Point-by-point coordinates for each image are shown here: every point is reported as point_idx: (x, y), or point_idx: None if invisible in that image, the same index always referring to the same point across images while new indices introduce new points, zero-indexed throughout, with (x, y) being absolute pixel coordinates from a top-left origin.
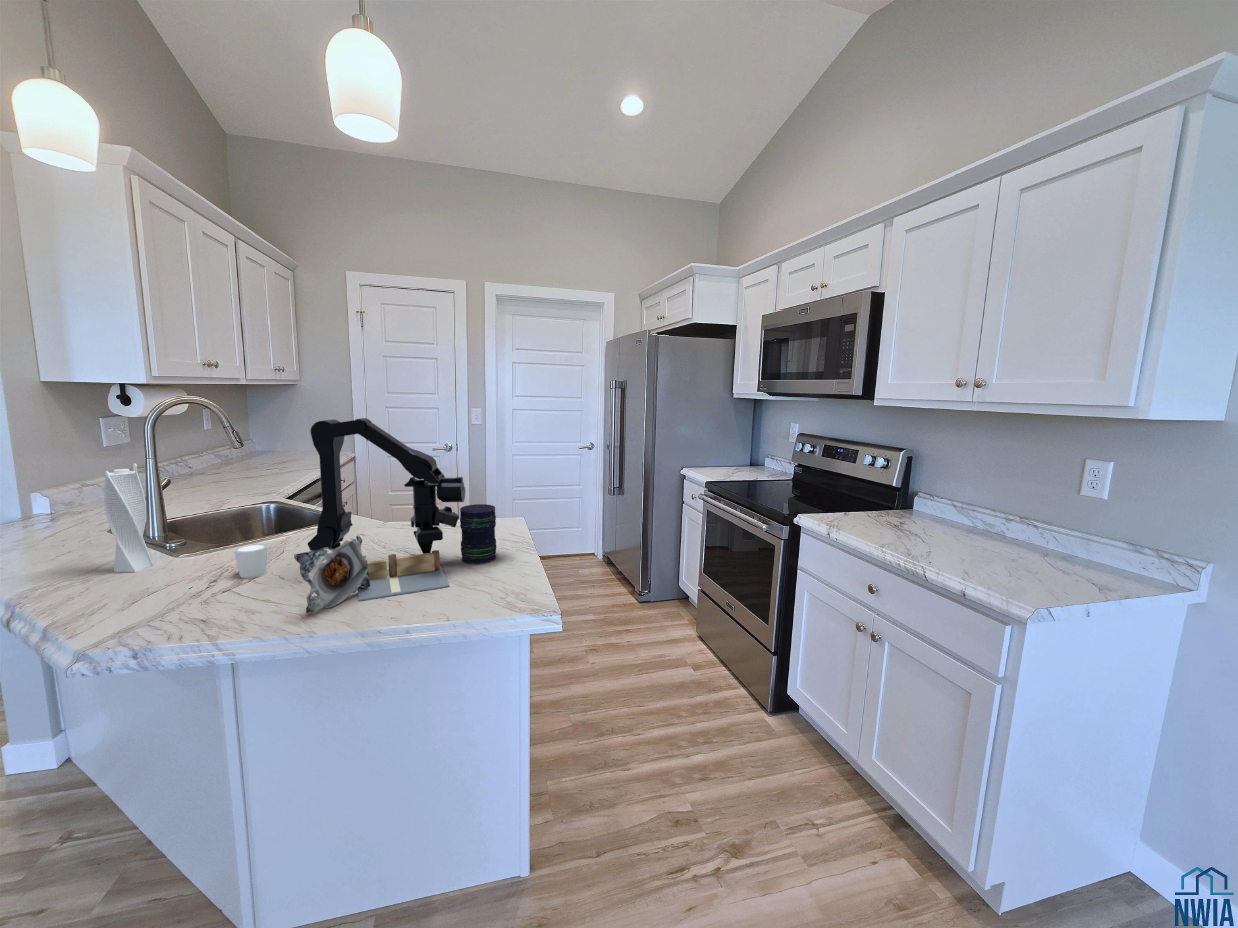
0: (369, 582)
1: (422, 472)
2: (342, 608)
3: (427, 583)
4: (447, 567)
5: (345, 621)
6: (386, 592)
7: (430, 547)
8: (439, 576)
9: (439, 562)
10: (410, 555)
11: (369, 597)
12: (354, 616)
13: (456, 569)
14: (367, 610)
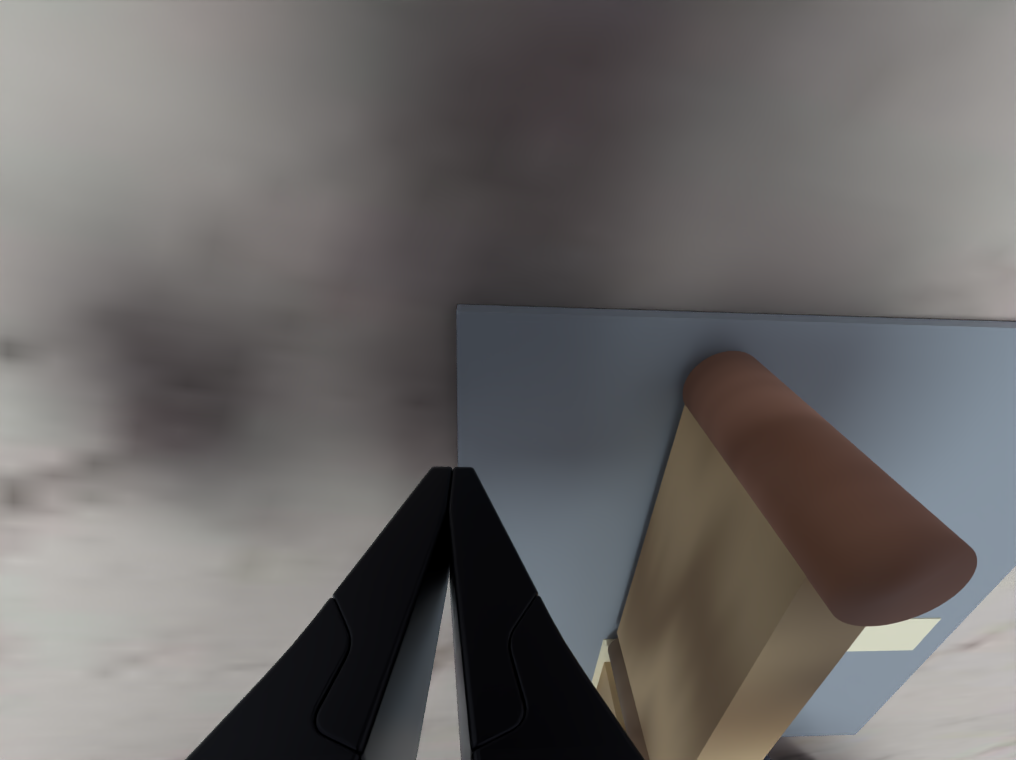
0: (766, 755)
1: None
2: (870, 751)
3: (974, 484)
4: (640, 228)
5: (1011, 740)
6: (880, 664)
7: (535, 604)
8: (914, 378)
9: (798, 399)
10: (701, 749)
11: (870, 709)
12: (998, 726)
13: (799, 125)
14: (990, 701)
